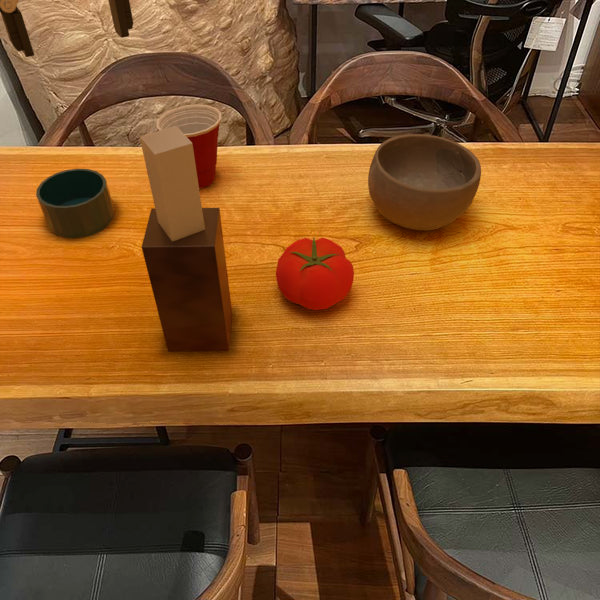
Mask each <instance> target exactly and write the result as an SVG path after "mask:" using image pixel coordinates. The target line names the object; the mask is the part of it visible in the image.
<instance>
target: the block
mask: <svg viewBox="0 0 600 600" xmlns="http://www.w3.org/2000/svg"><path fill="white" fill-rule="evenodd" d="M139 140H140V141H139V142H140V145H141V149H142V154H143V158H144V163H145V168H146V172H147V177H148V181H149V186H150V191H151V196H152V200H153V205H154V208H155V210H156V214H157V219H158V223H159V224H160V226H161V227H162V228H163V230H164V231H165V232H166V234H167V235H168V237H169V238H170V239H171V241H172V242H173V241H176V240H178V239H181V238H184V237H187V236H189V235H192V234H195V233H197V232H200V231H203V230H205V226H204V219H203V212H202V208H203V206H202V200H201V193H200V188H199V185H198V178H197V171H196V165H195V158H194V151H193V144H192V142H191V141H190V140H189V139H188V138H187V137H186V136H185V135H184V134H183V133H182V132H181V130H180V129H179V128H178V127H177V126H173V127H170V128H167V129H163V130H160V131H159V130H157V131H153V132H150V133H146V134H143V135H139Z"/></svg>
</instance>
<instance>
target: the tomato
mask: <svg viewBox="0 0 600 600" xmlns="http://www.w3.org/2000/svg"><path fill="white" fill-rule="evenodd" d="M354 269H355V268H354V266H353V264H352V262H351V260H349V259H348V258H347V257H346V253H345V250H344V248H343V247H342V246H341V245H339V244H338V243H336V242H334V241H333V240H331V239H329V238H325V237H320V238H318V239H315V237H313V238H312V239H310V238H308V237H304V238H301V239H297V240H296V241H294V242H292V243H291V244H289V245H288V246H287V247H286V248H285V249H284V251H283V253H282V254H281V255H280V256H279V258H278V260H277V264H276V269H275V279H276V283H277V287H278V290H279V291H280V292H281V294H282V295H283V296H284V297H285V299H286V300H288V301H289V302H291V303H293V304H295V305H296V304H297V305H301V306H302V307H304V308H305V309H307V310H314V311H317V310H327V309H329V308H331V307H333V306H334V305H336V304H338V303H340V302H341V301H343V300H345V298H346V297H347V296H348V295H349V292H350V291H351V289H352V287H353V283H354V279H355V278H354V276H355V271H354Z"/></svg>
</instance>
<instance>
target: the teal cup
mask: <svg viewBox="0 0 600 600" xmlns="http://www.w3.org/2000/svg"><path fill="white" fill-rule="evenodd" d="M35 195H36V196H35V197H36V199H37V202H38V204H39V206H40V209H41V212H42V214H43V217H44V219H45V222H46V224H47V226H48V228H49V230H50V231H51V232H52V233H53V234H54V235H56V236H58V237H61V238H65V239H81V238H86V237H89V236H94V235H96V234H98V233H100V232H102V231H103V230H105V229H106V228H108V227H109V225H110V224H111V223H112V222H113V220H114V218H115V207H114V203H113V199H112V196H111V193H110V189H109V185H108V182H107V179H106V178H105V176H104V174H102V173H100V171H99V172H98V171H97V170H93V169H90V168H72V169H65V170H61V171H59V172H56V173H54V174H51V175H49V176H48V177H46V178H45V179H44V180H43V181H41V182H40V183H39V185H38V187H37V188H36V193H35Z"/></svg>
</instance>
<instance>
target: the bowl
mask: <svg viewBox="0 0 600 600" xmlns="http://www.w3.org/2000/svg"><path fill="white" fill-rule="evenodd" d="M481 177H482V166H481V162H480V160H479V159H478V157H477V156H476V155H475V154H474V153H473V151H471V150H470V149H468V148H467V147H465V146H464V145H462V144H461V143H458V142H456V141H454V140H451V139H448V138H446V137H441V136H437V135H433V134H421V133H412V134H411V133H408V134H400V135H396V136H392V137H390V138H388V139H386V140H384V141H383V142H382V143H380V145H379V146H378V147H377V149H376V150H375V152H374V155H373V157H372V160H371V164H370V166H369V170H368V176H367V187H368V192H369V196H370V200H371V201H372V203H373V205H374V207H375V208H376V209H377V211H378V212H379V213H380V215H382V216H383V217H384V218H385V219H386V220H388V221H390V222H391V223H393V224H395V225H397V226H400V227H403V228H405V229H409V230H415V231H434V230H437V229H440V228H444V227H446V226H448V225H450V224H451V223H453V222H454V221H456V220H457V219H458V218H460V217H461V216H462V215H463V214H464V213H465V212H466V211H467V210H468V208H470V206H471V205H472V204H473V200H474V199H475V197H476V195H477V193H478V190H479V185H480V183H481Z"/></svg>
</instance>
